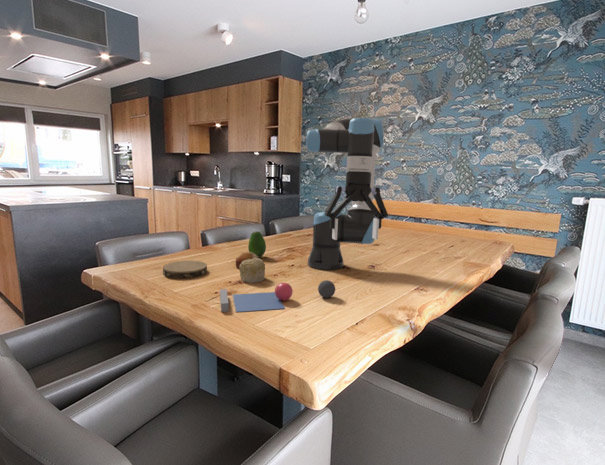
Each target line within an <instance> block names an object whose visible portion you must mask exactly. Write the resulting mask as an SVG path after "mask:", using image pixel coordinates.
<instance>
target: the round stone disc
mask: <svg viewBox="0 0 605 465" xmlns="http://www.w3.org/2000/svg"><path fill="white" fill-rule="evenodd" d="M207 267H208V264H207V263H206V262H204V261H201V260H200V261H199V260H178V261H177V260H176V261H172V262H169V263H165V264H164V265H163V266H162V274H163V276H164V277H166V278H169V279H173V280H174V279H176V280H177V279H178V280H181V279H182V280H183V279H184V280H187V279H195V278H199V277H202V276H203V275H205V274H207V273H208V268H207Z"/></svg>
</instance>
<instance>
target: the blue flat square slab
mask: <svg viewBox="0 0 605 465" xmlns="http://www.w3.org/2000/svg"><path fill="white" fill-rule="evenodd" d="M232 298H233V299H232V300H233V303H234V307H235V313H243V312H244V313H246V312H248V313H249V312H259V311H271V310H272V311H273V310H274V311H276V310H285V309H286V307H285V305H284V303H283V302H282V300H279V299H278V298H277V297H276V295H275V291H271V292H269V291H268V292H254V293H253V292H251V293H238V294H237V293H235V294H232Z"/></svg>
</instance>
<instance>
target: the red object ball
mask: <svg viewBox="0 0 605 465" xmlns="http://www.w3.org/2000/svg"><path fill="white" fill-rule="evenodd" d="M293 291H294V290H293V288H292V286H291V285H290V284H289V283H287V282H281V283H278V284H277V285H276V287H274V292H275V295H276V297H277V298H278V299H279V300H281V302H282V301H283V302H284V301H285V302H286V301H288V300H289V299H291V298H292V296H293Z"/></svg>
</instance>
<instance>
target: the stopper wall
mask: <svg viewBox="0 0 605 465" xmlns="http://www.w3.org/2000/svg"><path fill="white" fill-rule="evenodd" d="M219 298H220V299H219V300H220V312H221V313H224V312H226V313H227V312H229V310H230V309H229V306H230V305H229V299H228V290H227V288H222V289H221V288H220V289H219Z"/></svg>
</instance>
